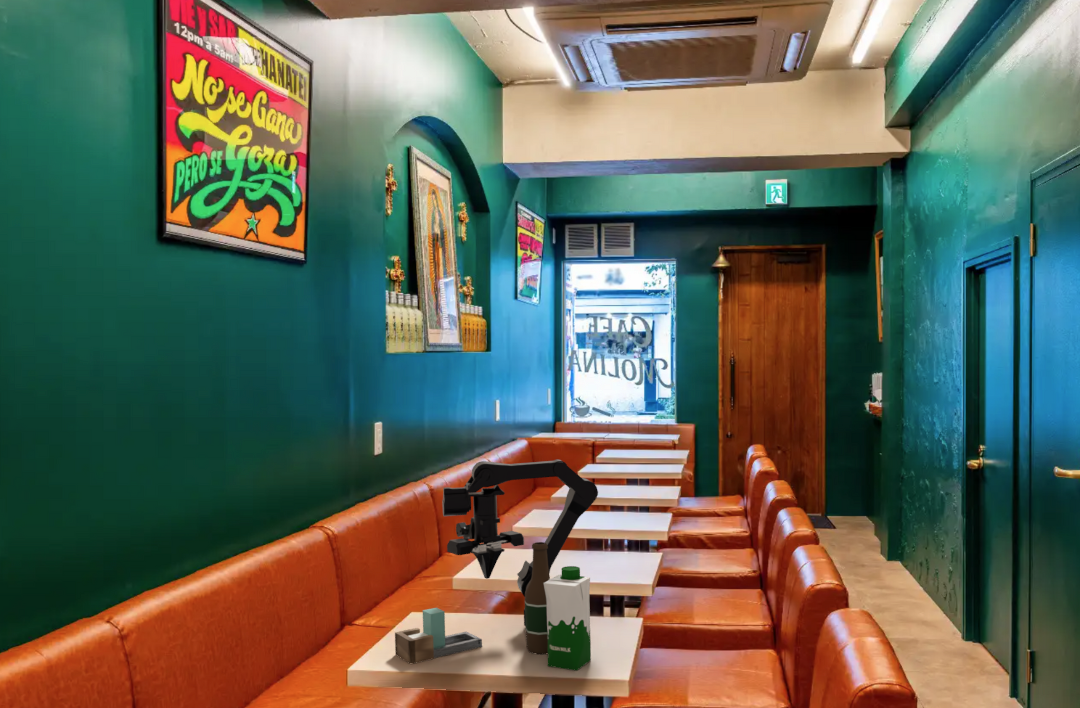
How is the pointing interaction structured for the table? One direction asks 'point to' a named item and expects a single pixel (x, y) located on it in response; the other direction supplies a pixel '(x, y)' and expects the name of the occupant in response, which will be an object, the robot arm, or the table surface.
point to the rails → (458, 644)
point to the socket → (413, 646)
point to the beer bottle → (537, 602)
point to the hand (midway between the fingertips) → (487, 578)
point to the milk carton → (568, 619)
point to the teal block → (433, 626)
